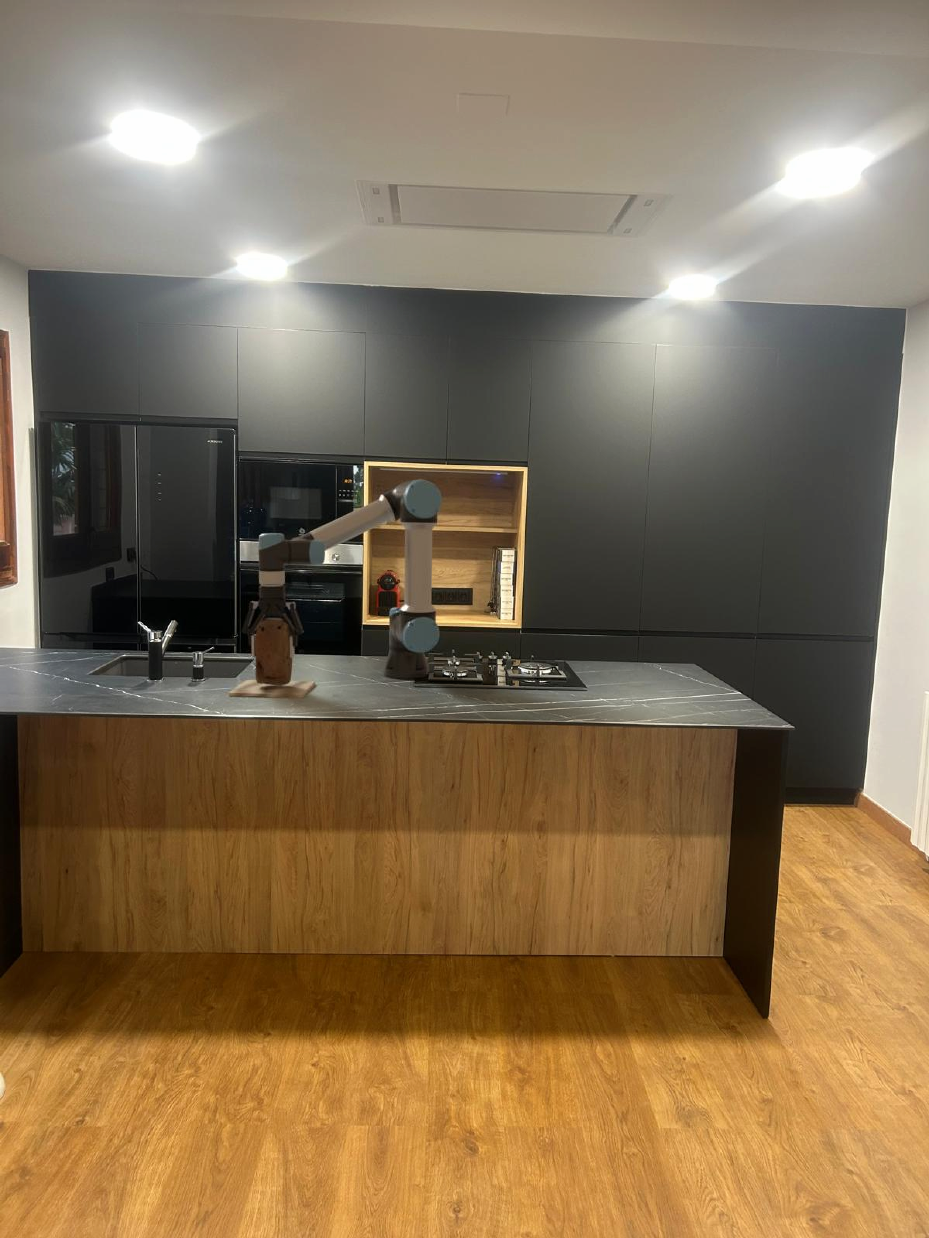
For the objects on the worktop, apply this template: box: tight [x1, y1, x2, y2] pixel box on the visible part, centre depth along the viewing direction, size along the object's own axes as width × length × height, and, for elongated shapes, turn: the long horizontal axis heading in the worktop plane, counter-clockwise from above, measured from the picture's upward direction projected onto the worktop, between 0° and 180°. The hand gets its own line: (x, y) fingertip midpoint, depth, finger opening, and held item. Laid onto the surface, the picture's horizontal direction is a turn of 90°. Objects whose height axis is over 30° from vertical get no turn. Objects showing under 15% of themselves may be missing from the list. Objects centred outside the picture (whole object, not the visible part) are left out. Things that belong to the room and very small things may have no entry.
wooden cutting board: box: [228, 679, 316, 699], centre depth 257 cm, size 22×18×1 cm
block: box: [254, 617, 293, 685], centre depth 256 cm, size 11×8×20 cm
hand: (273, 656), depth 256 cm, fingers open, 11 cm apart
